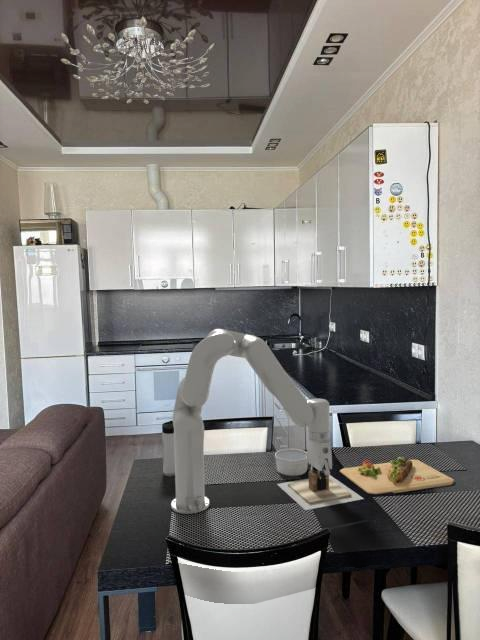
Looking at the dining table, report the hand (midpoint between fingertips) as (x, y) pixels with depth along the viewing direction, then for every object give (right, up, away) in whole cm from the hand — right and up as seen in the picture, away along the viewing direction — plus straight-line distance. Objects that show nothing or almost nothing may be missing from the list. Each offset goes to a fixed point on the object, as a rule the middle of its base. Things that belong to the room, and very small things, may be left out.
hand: (318, 486), depth 166 cm
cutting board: (+31, -2, +12) cm, 33 cm away
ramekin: (-7, -1, +20) cm, 21 cm away
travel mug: (-54, -2, +20) cm, 58 cm away
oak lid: (0, -2, 0) cm, 2 cm away
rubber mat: (0, -2, 0) cm, 2 cm away
